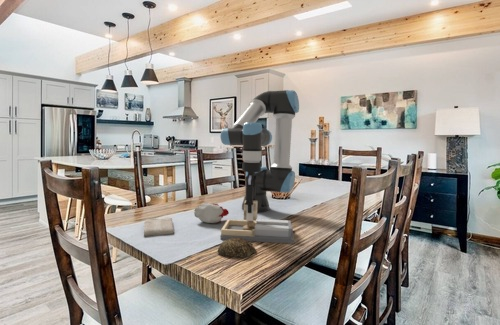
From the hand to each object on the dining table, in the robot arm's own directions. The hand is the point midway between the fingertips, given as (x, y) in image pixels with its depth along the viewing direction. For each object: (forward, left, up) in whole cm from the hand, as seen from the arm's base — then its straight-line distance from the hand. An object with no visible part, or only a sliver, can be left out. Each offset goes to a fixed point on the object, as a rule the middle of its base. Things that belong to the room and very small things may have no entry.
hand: (250, 218), depth 117 cm
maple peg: (0, 0, -5) cm, 5 cm away
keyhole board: (+2, 0, -7) cm, 7 cm away
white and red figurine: (-19, +14, -7) cm, 24 cm away
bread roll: (-2, -18, -7) cm, 20 cm away
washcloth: (-39, +1, -7) cm, 40 cm away
